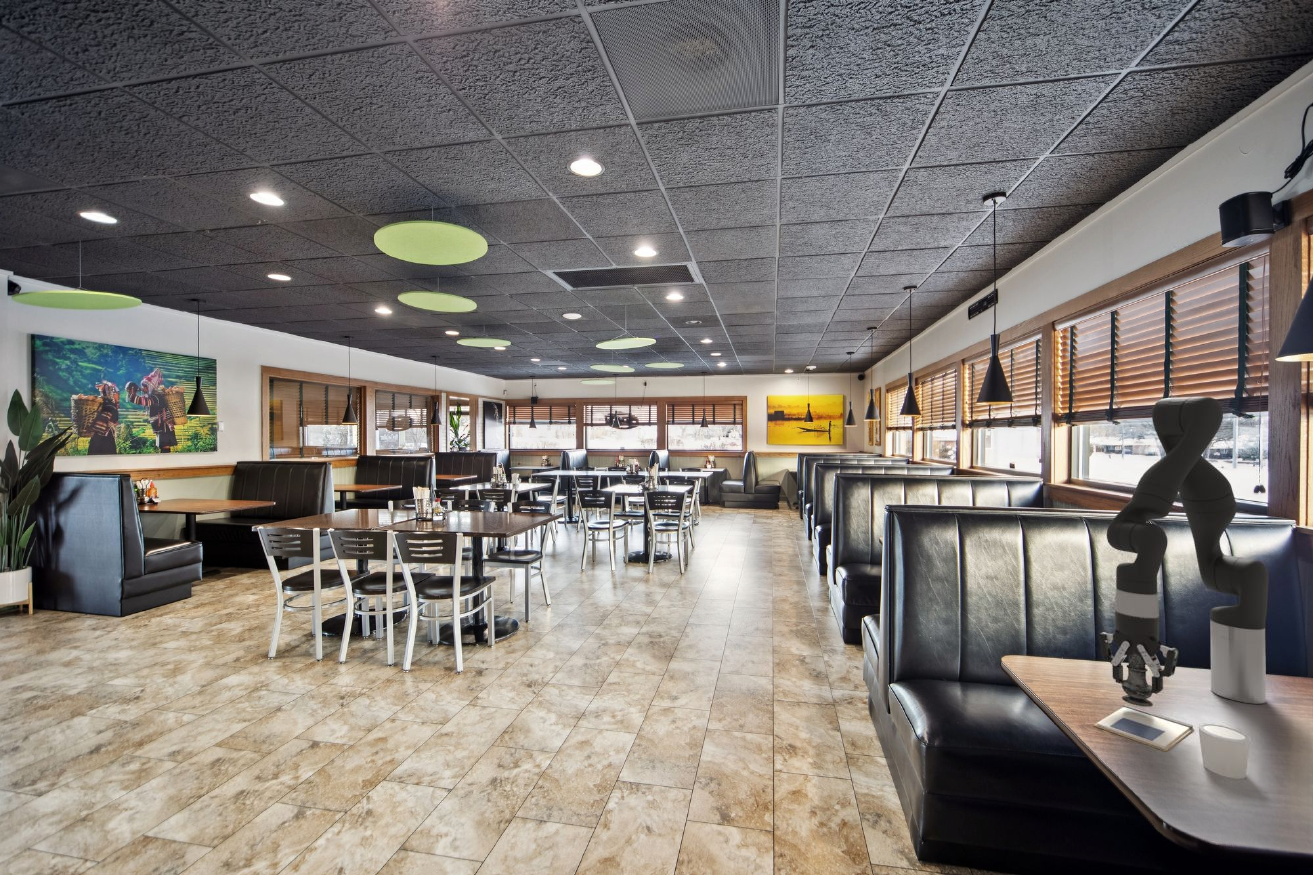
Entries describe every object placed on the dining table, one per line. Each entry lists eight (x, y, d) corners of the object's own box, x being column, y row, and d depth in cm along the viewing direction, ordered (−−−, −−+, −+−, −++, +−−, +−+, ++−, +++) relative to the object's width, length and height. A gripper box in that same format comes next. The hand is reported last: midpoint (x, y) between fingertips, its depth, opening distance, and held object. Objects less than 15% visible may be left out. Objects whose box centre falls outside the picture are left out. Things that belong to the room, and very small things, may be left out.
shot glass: (1242, 784, 101) (1241, 744, 101) (1191, 765, 107) (1191, 727, 107) (1257, 774, 104) (1257, 735, 104) (1207, 756, 110) (1207, 719, 110)
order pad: (1124, 707, 130) (1124, 703, 130) (1194, 730, 120) (1194, 725, 120) (1093, 726, 122) (1093, 721, 122) (1166, 751, 112) (1166, 746, 112)
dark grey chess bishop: (1161, 708, 123) (1160, 652, 123) (1130, 705, 124) (1129, 650, 125) (1143, 696, 129) (1143, 643, 129) (1114, 694, 130) (1113, 641, 130)
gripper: (1184, 617, 123) (1185, 695, 123) (1104, 601, 135) (1105, 672, 135) (1172, 622, 119) (1173, 703, 119) (1091, 606, 131) (1091, 679, 131)
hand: (1137, 687), depth 127 cm, fingers closed on dark grey chess bishop, 6 cm apart
